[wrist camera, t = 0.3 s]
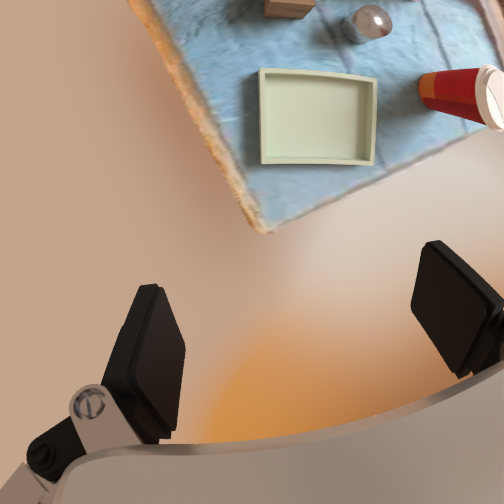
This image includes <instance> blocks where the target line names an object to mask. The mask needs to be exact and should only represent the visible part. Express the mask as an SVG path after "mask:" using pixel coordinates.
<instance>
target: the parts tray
mask: <svg viewBox="0 0 504 504" xmlns="http://www.w3.org/2000/svg"><path fill="white" fill-rule="evenodd" d="M258 99H259V145H260V162H261V164H346V165H367V166H374V155H375V140H376V119H377V79H376V78H370V77H364V76H358V75H351V74H343V73H335V72H326V71H315V70H301V69H279V68H260V69H259V70H258Z"/></svg>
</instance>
